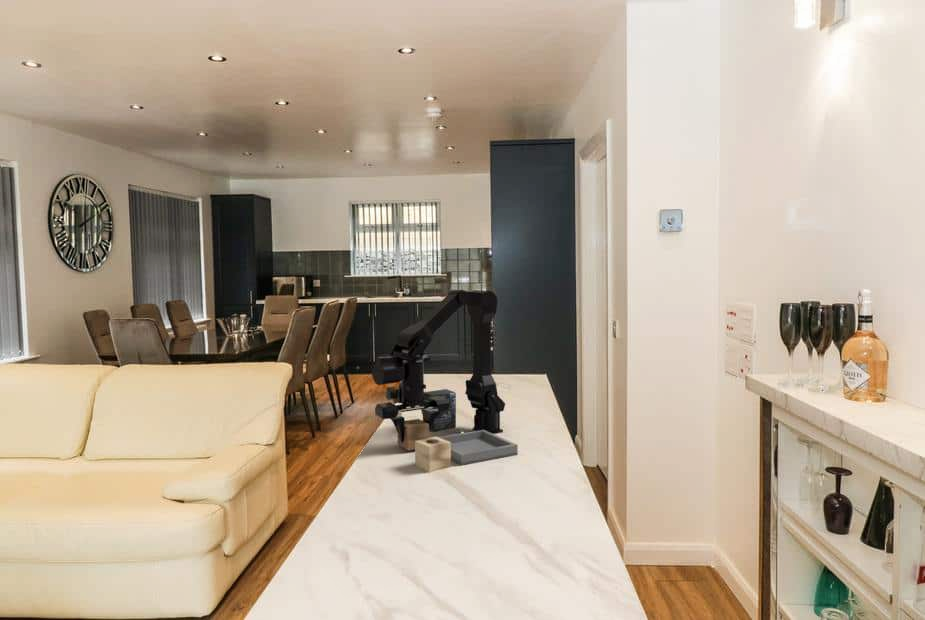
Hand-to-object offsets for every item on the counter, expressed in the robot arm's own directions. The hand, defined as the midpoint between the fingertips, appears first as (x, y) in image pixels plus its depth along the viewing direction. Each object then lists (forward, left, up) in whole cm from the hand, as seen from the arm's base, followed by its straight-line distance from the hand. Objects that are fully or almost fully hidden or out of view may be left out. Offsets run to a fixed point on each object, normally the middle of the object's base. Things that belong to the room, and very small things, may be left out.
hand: (413, 439), depth 163 cm
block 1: (0, 0, -2) cm, 2 cm away
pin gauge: (-9, -1, -2) cm, 9 cm away
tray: (-12, +10, -2) cm, 16 cm away
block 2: (+2, +15, -2) cm, 15 cm away
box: (-15, -14, -2) cm, 21 cm away
